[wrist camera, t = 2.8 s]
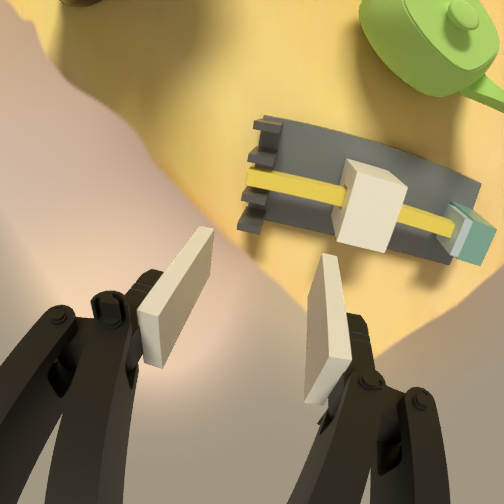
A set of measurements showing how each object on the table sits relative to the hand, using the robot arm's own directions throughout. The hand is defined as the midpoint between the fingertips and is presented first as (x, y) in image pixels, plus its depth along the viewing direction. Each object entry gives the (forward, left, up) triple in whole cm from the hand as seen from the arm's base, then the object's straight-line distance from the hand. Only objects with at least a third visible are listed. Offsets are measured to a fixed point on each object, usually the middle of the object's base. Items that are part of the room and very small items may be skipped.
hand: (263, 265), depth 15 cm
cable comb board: (+10, 0, -21) cm, 23 cm away
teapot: (+12, +20, -21) cm, 31 cm away
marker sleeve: (+9, 0, -19) cm, 21 cm away
